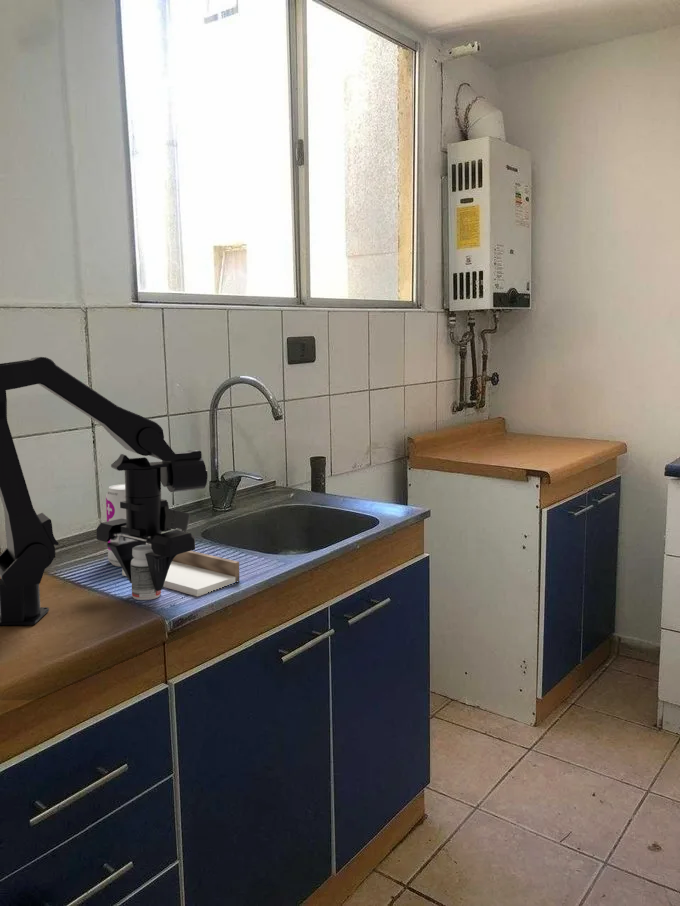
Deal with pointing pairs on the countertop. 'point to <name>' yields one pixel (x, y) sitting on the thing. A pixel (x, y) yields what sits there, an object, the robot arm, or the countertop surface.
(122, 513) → the supplement can
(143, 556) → the pill bottle
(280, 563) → the countertop surface
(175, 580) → the shelf board
